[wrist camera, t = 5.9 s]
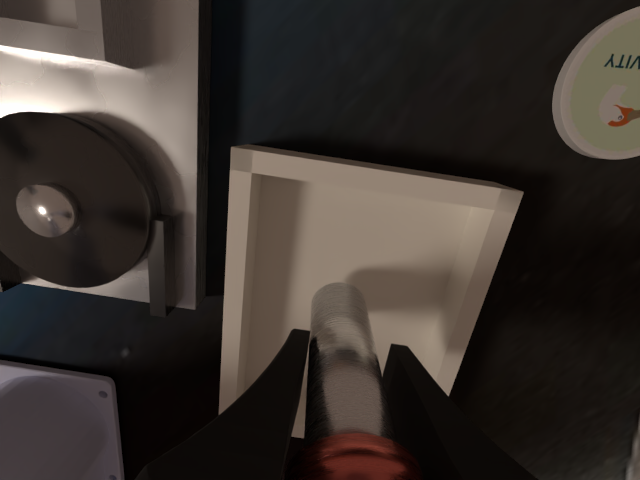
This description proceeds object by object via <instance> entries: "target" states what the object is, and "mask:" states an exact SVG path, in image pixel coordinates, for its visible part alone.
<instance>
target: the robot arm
mask: <svg viewBox="0 0 640 480" xmlns="http://www.w3.org/2000/svg"><path fill="white" fill-rule="evenodd" d="M309 338H310V331H308V330H301V329H295V328H294V329H293V330H291V332H290V334H289V336H288V338H287V340H286V341H285V343H284V345H283V346H282V348H281V349H280V351H279V352H278V353H277V355H276V356H275V357H274V359H273V360H272V362H271V363H270V364H269V365H268V367H267V368H266V369H265V370H264V371H263V372H262V374H261V375H260V376H259V377H258V378H257V379H256V381H255V382H254V383H253V384H252V385H251V386H250V387H249V388H248V389H247V390H246V391H245V392H244V393H243V394H242V395H241V396H240V397H239V398H238V399H237V400H236V401H235V402H233V403H232V404H231V405H230V406H229V407H228V408H227V409H226V410H224V411H223V412H222V413H221V414H220V415H218V416H217V417H216V418H215V419H214V420H212V421H211V422H210V423H208V424H207V425H206V426H204V427H203V428H202V429H200V430H199V431H197V432H196V433H195V434H193V435H192V436H191V437H189V438H188V439H187V440H185V441H184V442H182V443H181V444H179V445H178V446H176V447H174V448H173V449H171V450H170V451H168V452H166V453H165V454H163V455H162V456H160V457H158V458H157V459H155V460H154V461H152V462H150V463H149V464H147V465H146V466H145V467H144V468H143V469H142V470H141V472H140V473H139V474H138V476H137V477H136V478H135V480H282V474H283V469H284V465H285V460H286V456H287V452H288V448H289V443H290V439H291V435H292V431H293V427H294V423H295V418H296V414H297V410H298V406H299V402H300V396H301V389H302V383H303V377H304V371H305V364H306V358H307V352H308V346H309ZM382 378H383V382H384V387H385V391H386V396H387V400H388V405H389V409H390V414H391V418H392V423H393V427H394V432H395V436H396V440H397V443H399V444H401V445H402V446H404V447H405V448H407V449H408V450H409V451H410V452H411V453H412V454H413V455H414V456H415V458H416V459H417V461H418V463H419V465H420V468H421V472H422V475H423V479H424V480H538V479H537V478H535V477H534V476H533V475H532V474H530V473H529V472H528V471H527V470H525V469H524V468H523V467H522V466H521V465H519V464H518V463H517V462H516V461H515V460H513V459H512V458H511V457H510V456H509V455H507V454H506V453H505V452H504V451H503V450H502V449H501V448H499V447H498V446H497V445H496V444H495V443H494V442H493V441H492V440H490V439H489V438H488V437H487V436H486V435H485V434H484V433H483V432H482V431H481V430H480V429H479V428H478V427H477V426H476V425H475V424H474V423H473V422H472V421H471V420H470V419H469V418H468V417H467V416H466V415H465V414H464V413H463V412H462V411H461V410H460V409H459V408H458V406H457V405H456V404H455V403H454V402H453V401H452V400H451V399H450V398H449V397H448V395H447V394H446V393H445V392H444V391H443V390H442V388H441V387H440V386H439V385H438V384H437V382H436V381H435V380H434V379H433V378H432V376H431V375H430V374H429V373H428V371H427V370H426V369H425V368H424V366H423V365H422V364H421V362H420V361H419V360H418V359H417V357H416V356H415V355H414V353H413V352H412V351H411V350H410V348H409V347H408V346H405V345H399V344H392V343H391V346H390V349H389V353H388V357H387V361H386V364H385V368H384V372H383V376H382ZM0 480H125V479H124V469H123V459H122V449H121V439H120V429H119V418H118V408H117V398H116V388H115V383H114V381H113V379H111V378H110V377H107V376H101V375H95V374H88V373H82V372H75V371H69V370H62V369H56V368H49V367H43V366H37V365H30V364H24V363H17V362H11V361H4V360H0Z"/></svg>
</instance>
